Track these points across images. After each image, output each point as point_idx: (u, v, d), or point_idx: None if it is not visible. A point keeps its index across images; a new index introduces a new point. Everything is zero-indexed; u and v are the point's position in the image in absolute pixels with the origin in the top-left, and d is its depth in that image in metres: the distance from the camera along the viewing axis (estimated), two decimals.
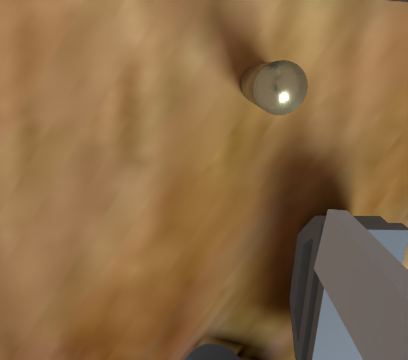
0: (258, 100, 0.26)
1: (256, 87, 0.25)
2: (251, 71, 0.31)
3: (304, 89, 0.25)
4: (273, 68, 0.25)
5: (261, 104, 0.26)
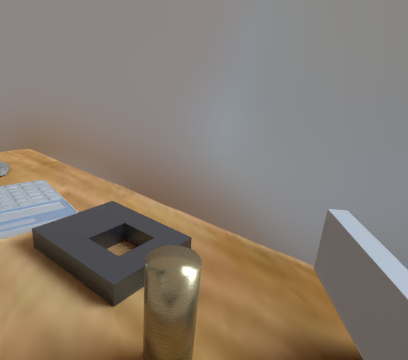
0: (169, 277, 0.22)
1: (155, 273, 0.22)
2: (143, 329, 0.25)
3: (188, 250, 0.25)
4: (151, 257, 0.24)
5: (175, 277, 0.22)
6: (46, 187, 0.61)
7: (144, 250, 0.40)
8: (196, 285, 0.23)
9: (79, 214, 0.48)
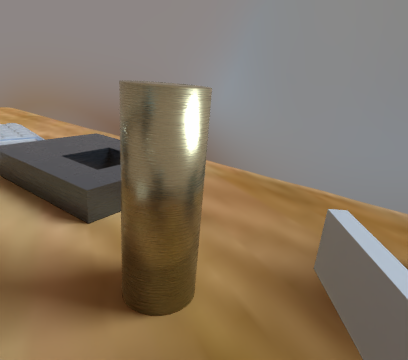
0: (158, 86, 0.13)
1: (135, 83, 0.13)
2: (121, 209, 0.16)
3: (190, 85, 0.16)
4: (131, 81, 0.15)
5: (168, 87, 0.13)
6: (20, 128, 0.52)
7: None
8: (204, 120, 0.14)
9: (53, 140, 0.39)
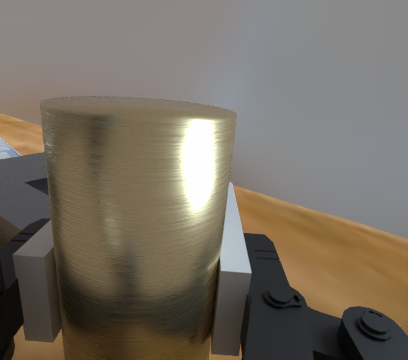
0: (115, 118, 0.05)
1: (64, 111, 0.06)
2: None
3: (192, 104, 0.09)
4: (73, 100, 0.07)
5: (141, 120, 0.05)
6: None
7: None
8: (221, 182, 0.07)
9: (22, 157, 0.32)
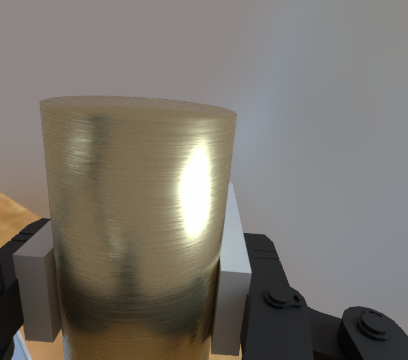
0: (115, 117, 0.05)
1: (63, 110, 0.06)
2: None
3: (192, 103, 0.09)
4: (73, 99, 0.07)
5: (140, 119, 0.05)
6: None
7: None
8: (221, 181, 0.07)
9: None
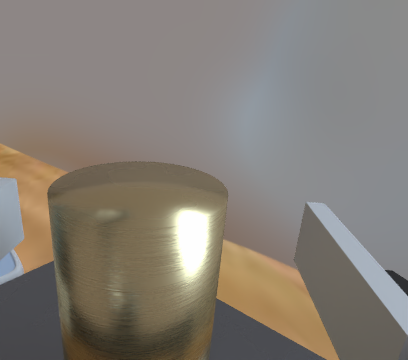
0: (116, 223, 0.06)
1: (70, 211, 0.06)
2: None
3: (188, 170, 0.09)
4: (77, 178, 0.08)
5: (139, 224, 0.06)
6: None
7: None
8: (214, 259, 0.07)
9: (7, 289, 0.16)
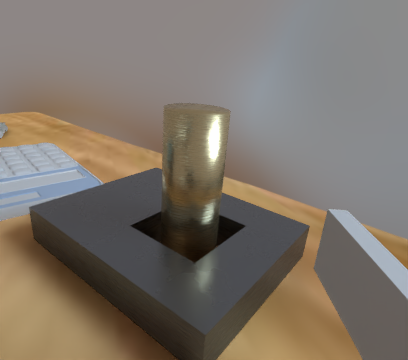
0: (193, 114, 0.18)
1: (176, 111, 0.18)
2: (162, 199, 0.22)
3: (213, 106, 0.21)
4: (171, 106, 0.20)
5: (200, 114, 0.18)
6: (55, 151, 0.43)
7: (239, 250, 0.21)
8: (224, 135, 0.20)
9: (108, 185, 0.29)
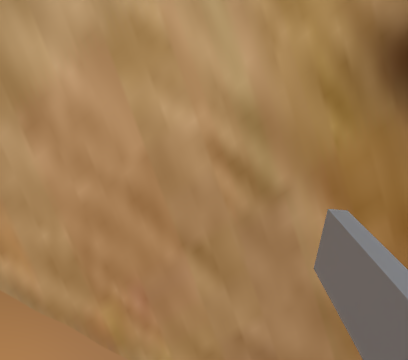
0: None
1: None
2: None
3: None
4: None
5: None
6: None
7: None
8: None
9: None
